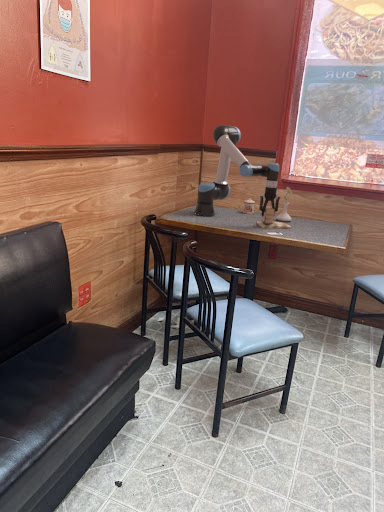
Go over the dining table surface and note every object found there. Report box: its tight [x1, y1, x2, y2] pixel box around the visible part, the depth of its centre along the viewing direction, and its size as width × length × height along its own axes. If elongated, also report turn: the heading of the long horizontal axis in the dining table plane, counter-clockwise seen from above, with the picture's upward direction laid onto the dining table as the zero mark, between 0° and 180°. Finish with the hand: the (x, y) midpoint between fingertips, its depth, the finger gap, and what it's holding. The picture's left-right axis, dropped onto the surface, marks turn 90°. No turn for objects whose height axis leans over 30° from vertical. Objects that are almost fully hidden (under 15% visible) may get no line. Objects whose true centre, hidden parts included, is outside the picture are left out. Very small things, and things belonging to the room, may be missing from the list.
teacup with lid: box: [242, 197, 259, 215], centre depth 315 cm, size 12×9×12 cm
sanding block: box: [260, 206, 275, 224], centre depth 271 cm, size 9×5×10 cm, turn 10°
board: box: [255, 221, 292, 230], centre depth 274 cm, size 20×14×2 cm
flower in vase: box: [275, 186, 293, 222], centre depth 293 cm, size 13×11×25 cm
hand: (267, 221), depth 272 cm, fingers closed on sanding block, 5 cm apart
